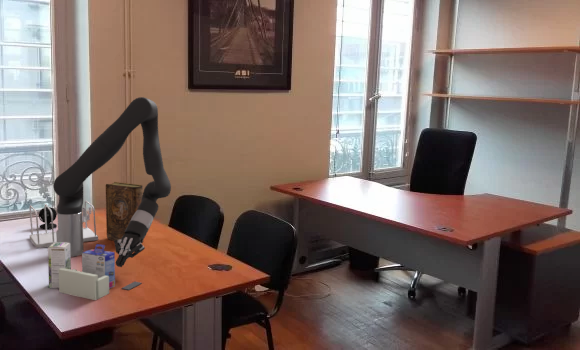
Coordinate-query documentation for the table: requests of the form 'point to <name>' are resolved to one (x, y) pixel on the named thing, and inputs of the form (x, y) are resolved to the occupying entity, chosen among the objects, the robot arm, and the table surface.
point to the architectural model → (86, 214)
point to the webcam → (47, 218)
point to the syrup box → (58, 261)
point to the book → (121, 207)
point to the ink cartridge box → (99, 263)
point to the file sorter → (50, 238)
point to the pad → (131, 285)
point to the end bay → (83, 284)
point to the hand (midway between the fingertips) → (118, 265)
